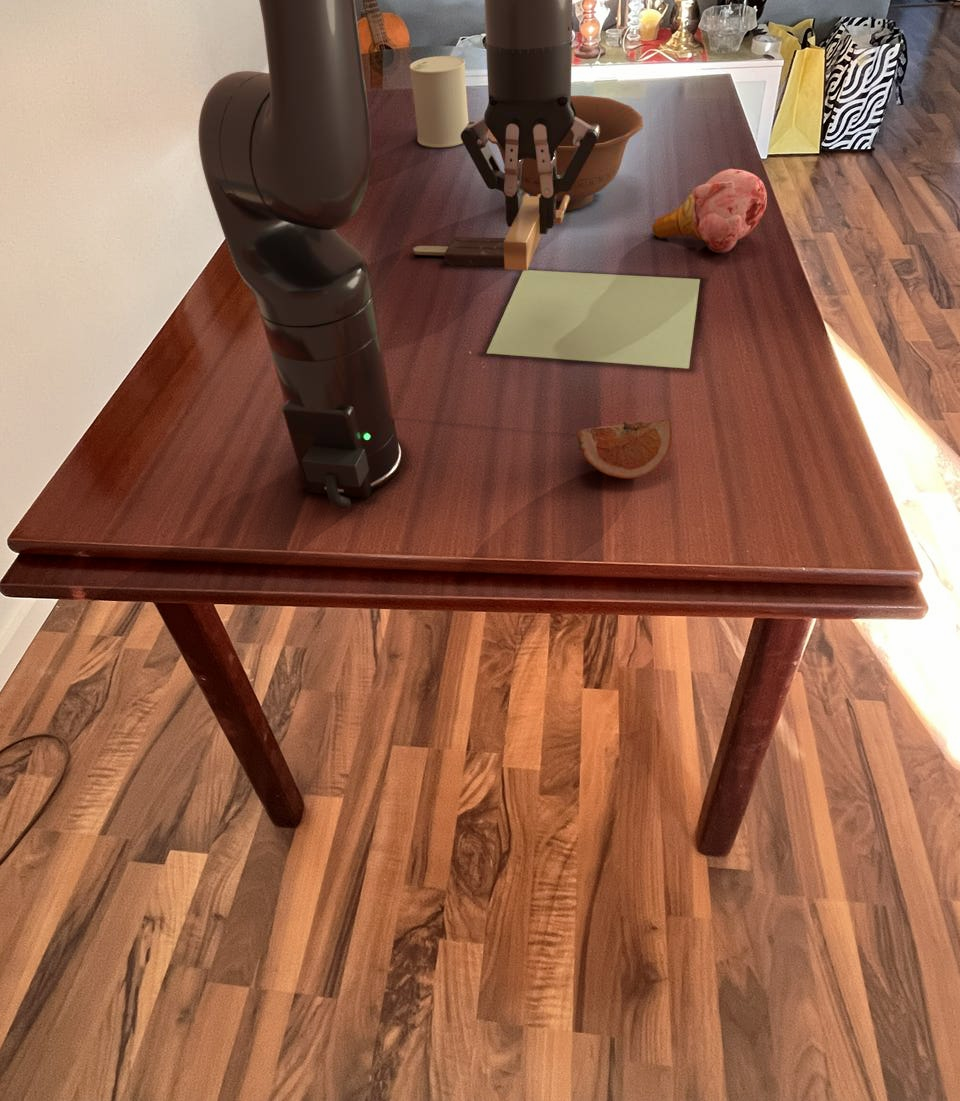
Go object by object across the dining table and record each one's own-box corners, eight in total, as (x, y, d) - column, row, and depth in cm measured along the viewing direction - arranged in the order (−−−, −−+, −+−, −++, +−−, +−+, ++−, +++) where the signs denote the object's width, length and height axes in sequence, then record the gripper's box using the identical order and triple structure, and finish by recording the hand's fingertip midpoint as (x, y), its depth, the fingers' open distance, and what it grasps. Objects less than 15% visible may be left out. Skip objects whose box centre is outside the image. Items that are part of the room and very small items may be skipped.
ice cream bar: (409, 265, 107) (521, 268, 104) (407, 253, 106) (521, 256, 103) (419, 247, 110) (528, 250, 108) (418, 235, 109) (527, 238, 107)
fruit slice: (581, 494, 72) (583, 450, 69) (570, 448, 77) (570, 405, 74) (674, 485, 73) (680, 440, 69) (657, 439, 77) (661, 396, 74)
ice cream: (631, 247, 103) (747, 212, 93) (638, 180, 105) (751, 138, 95) (670, 288, 111) (780, 259, 101) (675, 225, 113) (784, 190, 103)
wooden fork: (542, 271, 77) (542, 243, 75) (489, 269, 78) (487, 240, 76) (570, 200, 89) (570, 173, 87) (523, 198, 90) (523, 172, 88)
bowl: (467, 224, 115) (460, 142, 107) (512, 166, 129) (510, 90, 121) (621, 237, 109) (626, 151, 101) (651, 174, 123) (657, 95, 115)
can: (409, 136, 142) (400, 59, 134) (457, 125, 145) (451, 49, 136) (429, 152, 136) (421, 72, 128) (479, 140, 139) (474, 61, 130)
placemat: (688, 370, 85) (688, 368, 85) (486, 354, 90) (486, 353, 90) (699, 280, 99) (700, 279, 99) (523, 271, 104) (523, 269, 103)
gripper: (440, 45, 69) (456, 243, 81) (602, 44, 67) (594, 249, 79) (462, 24, 75) (474, 213, 87) (613, 22, 72) (603, 218, 84)
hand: (531, 229), depth 83 cm, fingers closed on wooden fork, 2 cm apart
